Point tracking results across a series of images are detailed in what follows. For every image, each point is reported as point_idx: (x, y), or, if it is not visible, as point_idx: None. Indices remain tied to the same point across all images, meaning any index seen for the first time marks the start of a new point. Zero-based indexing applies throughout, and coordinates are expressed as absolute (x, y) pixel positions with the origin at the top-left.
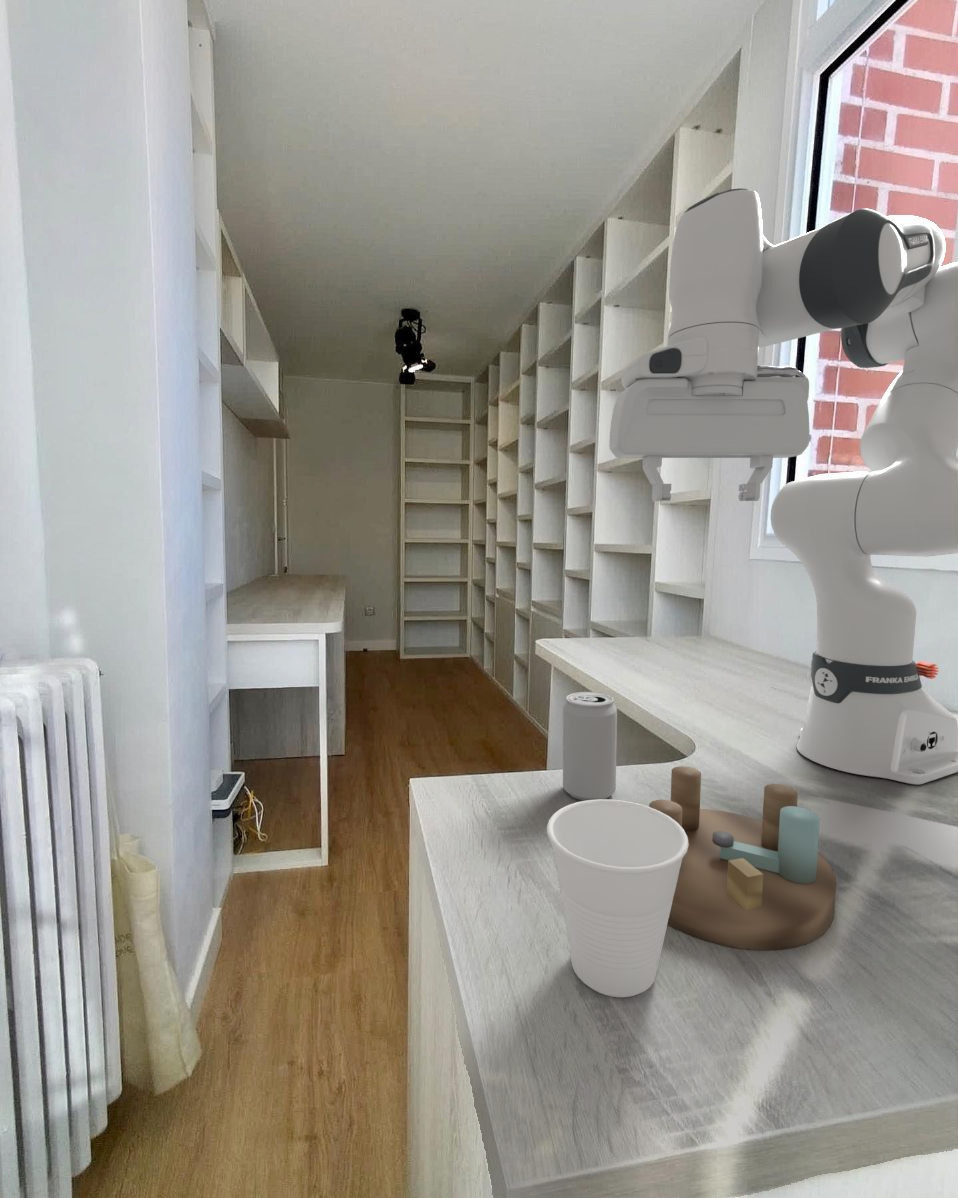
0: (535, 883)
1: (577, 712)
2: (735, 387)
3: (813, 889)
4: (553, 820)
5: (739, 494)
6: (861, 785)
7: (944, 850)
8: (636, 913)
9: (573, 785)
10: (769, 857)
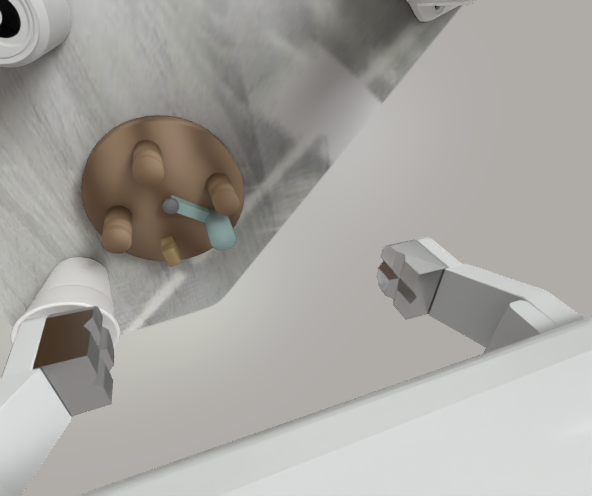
0: (3, 205)
1: None
2: None
3: None
4: (14, 336)
5: (397, 255)
6: (374, 13)
7: (347, 141)
8: None
9: (1, 37)
10: (199, 220)
